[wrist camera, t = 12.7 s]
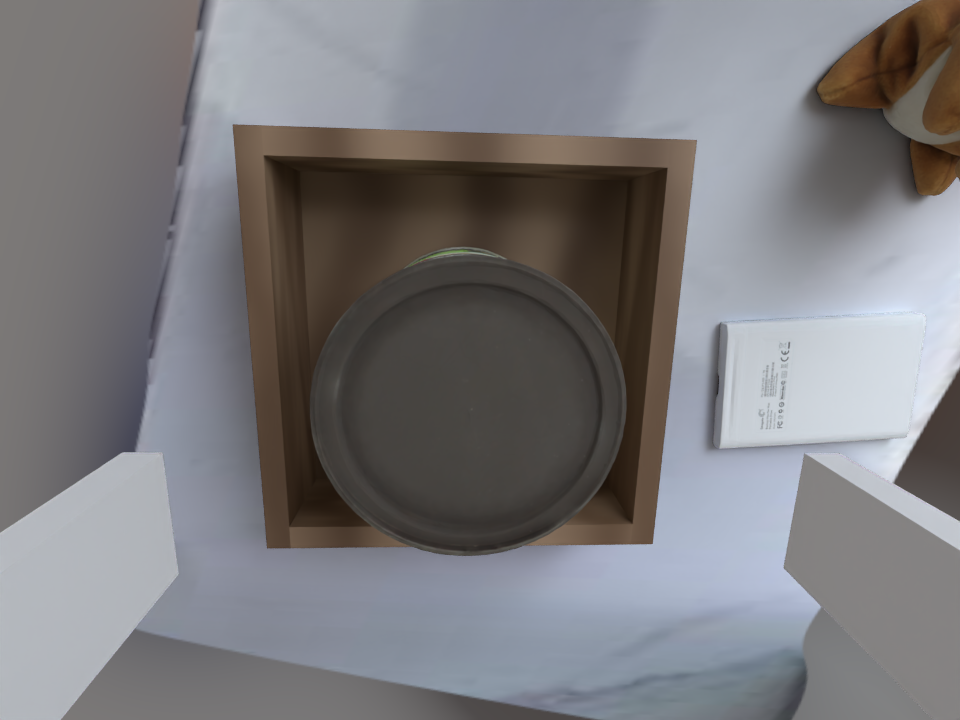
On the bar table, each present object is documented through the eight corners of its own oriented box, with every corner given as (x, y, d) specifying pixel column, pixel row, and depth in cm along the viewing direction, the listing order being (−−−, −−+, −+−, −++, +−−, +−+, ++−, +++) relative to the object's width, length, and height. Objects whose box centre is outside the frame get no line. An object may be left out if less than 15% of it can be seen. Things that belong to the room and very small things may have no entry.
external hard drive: (887, 430, 35) (708, 441, 35) (905, 310, 33) (716, 320, 33) (908, 439, 33) (720, 451, 33) (928, 313, 32) (729, 324, 31)
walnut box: (644, 160, 30) (696, 140, 23) (615, 487, 34) (652, 544, 28) (281, 149, 28) (232, 124, 22) (302, 489, 33) (267, 548, 27)
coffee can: (339, 300, 30) (242, 355, 16) (499, 213, 29) (543, 192, 15) (427, 447, 32) (410, 606, 18) (577, 370, 31) (676, 474, 18)
